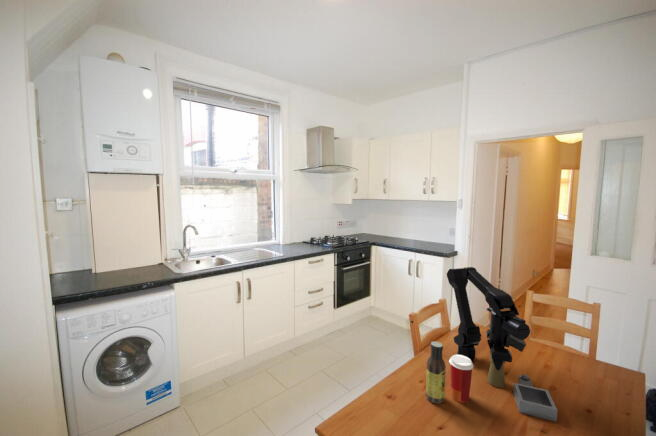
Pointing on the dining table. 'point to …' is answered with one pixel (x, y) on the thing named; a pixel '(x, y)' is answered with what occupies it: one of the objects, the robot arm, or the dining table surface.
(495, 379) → the cork
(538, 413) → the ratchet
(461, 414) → the dining table surface
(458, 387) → the paper cup
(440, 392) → the sauce bottle
